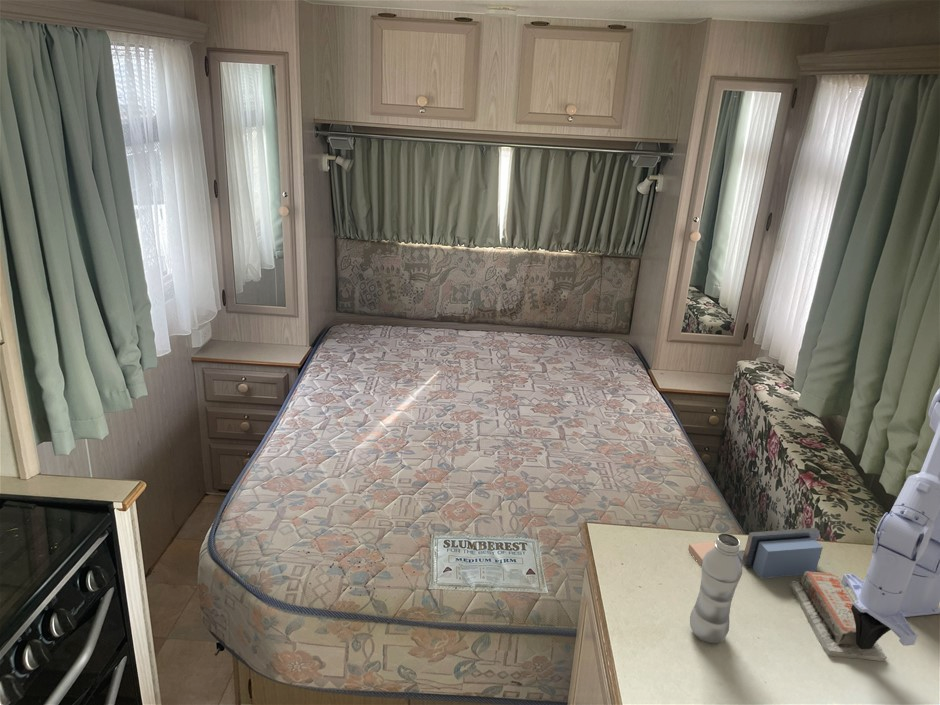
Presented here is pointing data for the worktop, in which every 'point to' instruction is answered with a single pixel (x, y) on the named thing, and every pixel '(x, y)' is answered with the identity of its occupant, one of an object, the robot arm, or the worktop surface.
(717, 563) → the plastic bottle
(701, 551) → the lying book
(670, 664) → the worktop surface
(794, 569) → the grayish blue rectangular block
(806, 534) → the bookend
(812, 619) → the packaged product
